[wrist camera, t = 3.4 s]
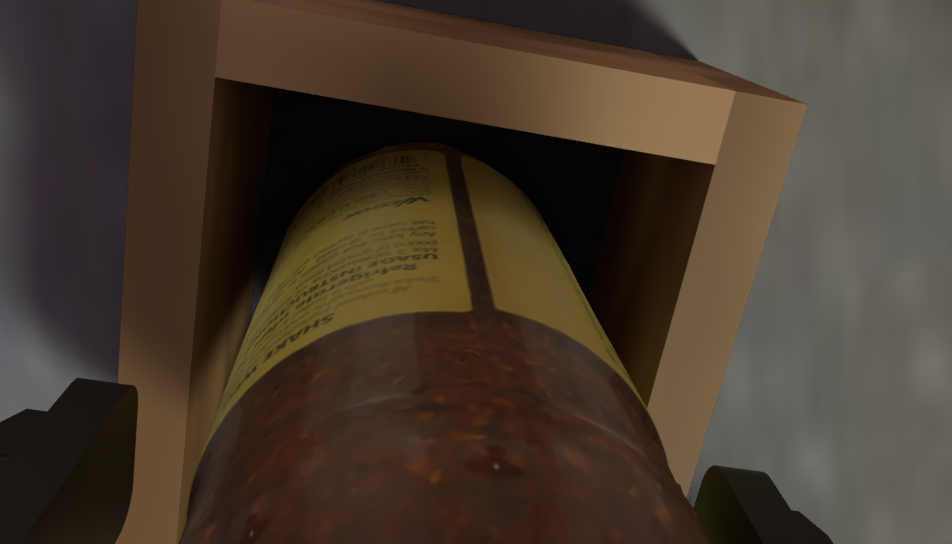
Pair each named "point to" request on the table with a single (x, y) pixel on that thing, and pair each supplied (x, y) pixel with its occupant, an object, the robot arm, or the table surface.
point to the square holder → (446, 95)
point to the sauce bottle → (429, 381)
